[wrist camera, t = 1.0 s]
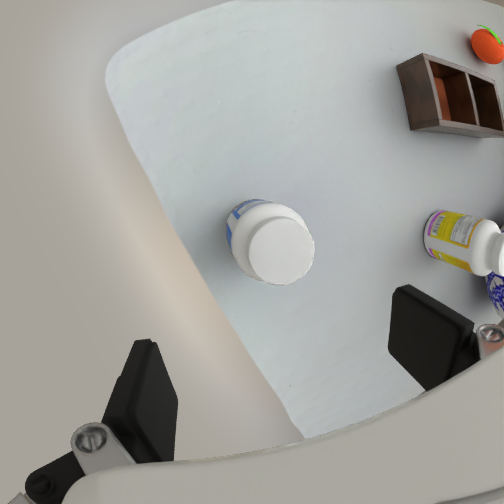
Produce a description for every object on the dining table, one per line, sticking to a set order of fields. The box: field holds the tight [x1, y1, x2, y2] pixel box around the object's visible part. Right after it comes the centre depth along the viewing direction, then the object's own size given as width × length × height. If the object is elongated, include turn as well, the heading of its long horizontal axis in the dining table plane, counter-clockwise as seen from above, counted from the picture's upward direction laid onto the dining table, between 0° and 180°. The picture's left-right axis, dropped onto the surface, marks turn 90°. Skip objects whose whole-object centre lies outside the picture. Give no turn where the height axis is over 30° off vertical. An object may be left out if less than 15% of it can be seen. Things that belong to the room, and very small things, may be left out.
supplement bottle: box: [424, 211, 504, 276], centre depth 26 cm, size 7×7×13 cm
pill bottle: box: [226, 199, 315, 285], centre depth 24 cm, size 6×6×11 cm
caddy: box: [397, 53, 504, 138], centre depth 26 cm, size 9×17×6 cm, turn 98°
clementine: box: [471, 25, 504, 64], centre depth 23 cm, size 8×7×7 cm
